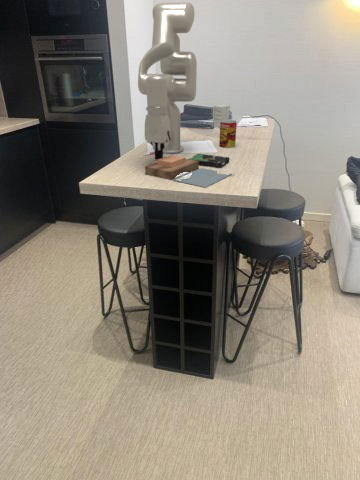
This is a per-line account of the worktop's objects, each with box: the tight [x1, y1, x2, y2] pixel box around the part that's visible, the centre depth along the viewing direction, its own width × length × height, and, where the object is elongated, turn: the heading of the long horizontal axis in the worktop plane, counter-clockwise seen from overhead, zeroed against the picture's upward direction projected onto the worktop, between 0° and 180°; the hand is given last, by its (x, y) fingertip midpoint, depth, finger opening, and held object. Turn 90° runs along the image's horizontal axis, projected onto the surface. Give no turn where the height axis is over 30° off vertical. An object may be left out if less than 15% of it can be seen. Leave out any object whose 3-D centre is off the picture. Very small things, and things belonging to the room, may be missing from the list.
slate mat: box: [172, 167, 231, 189], centre depth 140 cm, size 14×19×1 cm
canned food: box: [218, 119, 238, 149], centre depth 183 cm, size 8×8×12 cm
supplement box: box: [212, 104, 230, 129], centre depth 229 cm, size 7×7×13 cm
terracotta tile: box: [156, 154, 186, 168], centre depth 146 cm, size 7×9×2 cm
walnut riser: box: [144, 158, 200, 181], centre depth 147 cm, size 13×18×3 cm
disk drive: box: [189, 153, 230, 169], centre depth 158 cm, size 10×3×15 cm
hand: (158, 159), depth 150 cm, fingers closed
